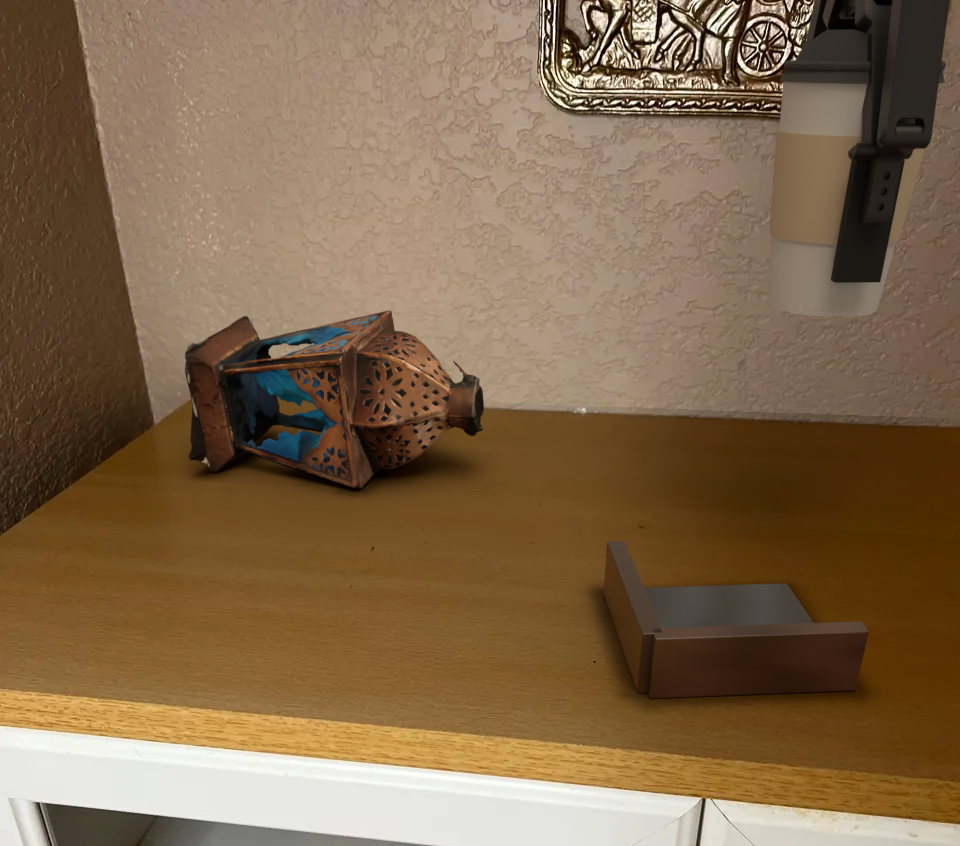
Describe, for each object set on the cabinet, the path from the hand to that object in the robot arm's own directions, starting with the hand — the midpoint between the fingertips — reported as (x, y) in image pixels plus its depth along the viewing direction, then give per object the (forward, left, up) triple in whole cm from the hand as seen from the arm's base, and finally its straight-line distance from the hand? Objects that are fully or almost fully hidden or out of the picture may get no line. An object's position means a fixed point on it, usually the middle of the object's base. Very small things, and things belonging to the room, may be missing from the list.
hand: (828, 266), depth 62 cm
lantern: (+33, -20, -20) cm, 43 cm away
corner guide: (+7, +11, -20) cm, 24 cm away
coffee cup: (0, 0, -3) cm, 3 cm away
